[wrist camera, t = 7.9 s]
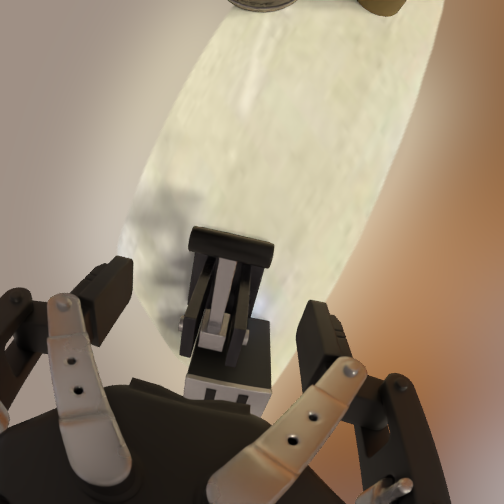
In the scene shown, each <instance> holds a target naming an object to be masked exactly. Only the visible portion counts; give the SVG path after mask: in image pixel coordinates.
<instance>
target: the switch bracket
mask: <svg viewBox="0 0 504 504" xmlns="http://www.w3.org/2000/svg"><path fill="white" fill-rule="evenodd" d="M202 228H204V227H202ZM207 229H208V228H207ZM211 230H213V229H211ZM215 231H217V230H215ZM220 232H222V231H220ZM224 233H226V232H224ZM229 234H230V233H229ZM233 235H235V234H233ZM238 236H239V235H238ZM242 237H244V236H242ZM246 238H248V237H246ZM251 239H252V238H251ZM255 240H257V239H255ZM259 241H261V240H259ZM264 242H265V241H264ZM268 243H270V242H268ZM218 264H219V258H218V257H214V256H209V255H205V254H201V253H196V252H195V256H194V263H193V269H192V276H191V282H190V289H189V296H188V303H187V305H188V307H187V310H186V312H185V315H184V316H183V315H182V316H181V318H180V322H179V328H178V330H179V331H182V336H181V345H180V355H181V356H185V357H189V358H190V357H191V354H192V350H193V347H194V343H195V340H196V337H197V333H198V330H199V326H200V323H201V319H202V316H203V313H204V309H210V310H211V304H212V298H213V292H214V287H215V281H216V275H217V269H218ZM263 272H264V268H263V267H258V266H254V265H249V264H245V263H240V262H237V264H236V268H235V273H234V277H233V281H232V285H231V289H230V293H229V297H228V301H227V306H226V310H225V313H227V314H230V315H232V318H231V325H230V331H229V338H228V345H227V351H226V358H225V366H230V367H236V365H237V361H238V358H239V355H240V351H241V348H242V345H245V346H246V345H247V342H248V338H249V330H247V318H249V319H250V317H251V314H252V310H253V307H254V303H255V300H256V296H257V293H258V289H259V286H260V282H261V279H262V275H263Z"/></svg>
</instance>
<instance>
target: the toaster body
mask: <svg viewBox="0 0 504 504" xmlns="http://www.w3.org/2000/svg"><path fill="white" fill-rule="evenodd" d="M231 318H232V315H230V320H229V325H228V330H227V336H226V340H225V343H224V347H223V351H222V352H220V351H215V350H210V349H206V348H202V347H198V341H199V334H198V337H197V341H196V344H195V348H194V351H193V355H192V358H191V362H190V366H189V369H188V373H187V374H186V379H185V387H184V395H183V397H185V398H187V399H194V400H226V401H231V402H237V403H243V404H249V405H251V406H250V413H251V414H254V415H256V416H258V417H260V418H261V416H262V414H263V411H264V410H265V408H266V405H267V403H268V401H269V399H270V397H271V395H272V390H271V356H270V323H269V321H264V320H259V319H254V318H250V319H249V318H247V330H249V338H248V342H247V345H246V346H245V345H242V348H241V351H240V355H239V358H238V361H237V365H236V367H230V366H225V358H226V351H227V345H228V338H229V331H230V325H231ZM201 324H202V323H201ZM200 328H201V327H200ZM199 332H200V330H199Z"/></svg>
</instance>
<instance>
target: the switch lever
mask: <svg viewBox="0 0 504 504" xmlns="http://www.w3.org/2000/svg"><path fill="white" fill-rule="evenodd" d="M188 250H189V251H192V252H196V253H201V254H205V255H209V256H214V257H218V258H219V264H218V269H217V275H216V281H215V287H214V292H213V298H212V304H211V310H210V309H205V312H204V316H203V320H202V324H201V328H200V332H199V341H198V347H202V348H206V349H210V350H215V351H220V352H222V351H223V347H224V343H225V340H226V336H227V330H228V325H229V320H230V314H227V313H225V310H226V306H227V301H228V297H229V293H230V289H231V285H232V281H233V277H234V273H235V268H236V264H237V262H240V263H245V264H249V265H254V266H258V267H263V268H267V269H268V268H269V267H270V265H271V261H272V258H273V253H274V244H272V243H268V242H264V241H259V240H255V239H251V238H246V237H242V236H238V235H233V234H229V233H224V232H220V231H215V230H211V229H207V228H202V227H198V226H194V227H193V228H192V231H191V234H190V238H189V244H188Z"/></svg>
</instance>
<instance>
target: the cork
mask: <svg viewBox="0 0 504 504" xmlns="http://www.w3.org/2000/svg"><path fill="white" fill-rule="evenodd" d="M357 1H358V2H359V3H360V4H361V5H362V6H363V7H364V8H365V9H367V10H368V11H370V12H371V13H374V14H376V15H379V16H385V17H386V16H392V15H394V14H396V13H397V12H398V11H399V10H400V8H401V7H402V6H403V4H404V3H405V2H406V0H357Z"/></svg>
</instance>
